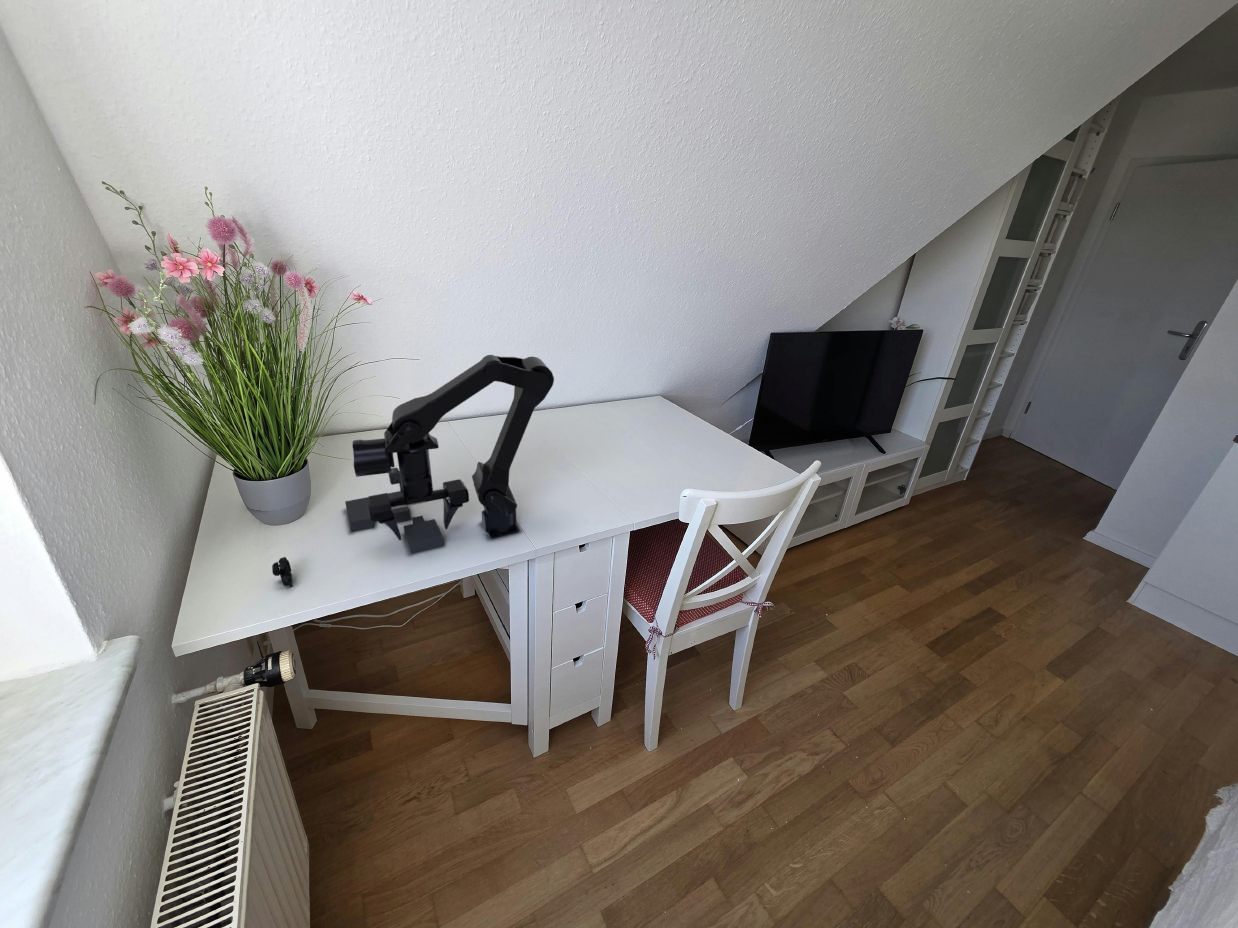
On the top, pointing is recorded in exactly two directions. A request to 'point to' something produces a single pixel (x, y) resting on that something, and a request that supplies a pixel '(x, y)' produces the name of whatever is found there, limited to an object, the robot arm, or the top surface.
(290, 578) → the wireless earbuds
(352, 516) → the notch pad
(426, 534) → the tab pad
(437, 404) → the robot arm
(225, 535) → the top surface
